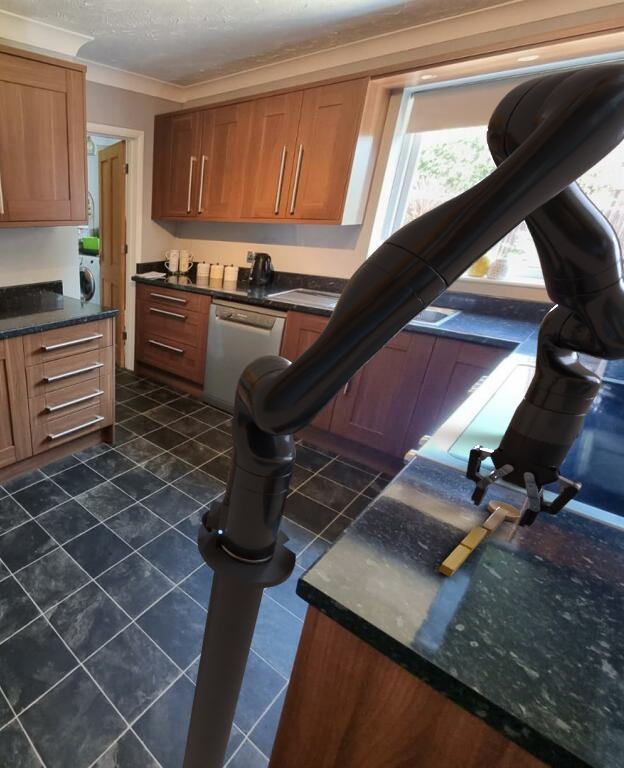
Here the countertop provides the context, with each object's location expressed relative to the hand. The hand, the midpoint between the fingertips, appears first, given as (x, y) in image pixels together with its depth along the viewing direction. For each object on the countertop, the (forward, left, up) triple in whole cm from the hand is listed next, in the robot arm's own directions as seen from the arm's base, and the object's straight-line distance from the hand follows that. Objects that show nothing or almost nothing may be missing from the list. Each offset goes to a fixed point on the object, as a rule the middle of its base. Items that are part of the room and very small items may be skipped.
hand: (499, 513), depth 73 cm
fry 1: (-9, -14, -2) cm, 17 cm away
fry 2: (-5, -8, -2) cm, 10 cm away
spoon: (0, 0, -2) cm, 2 cm away
